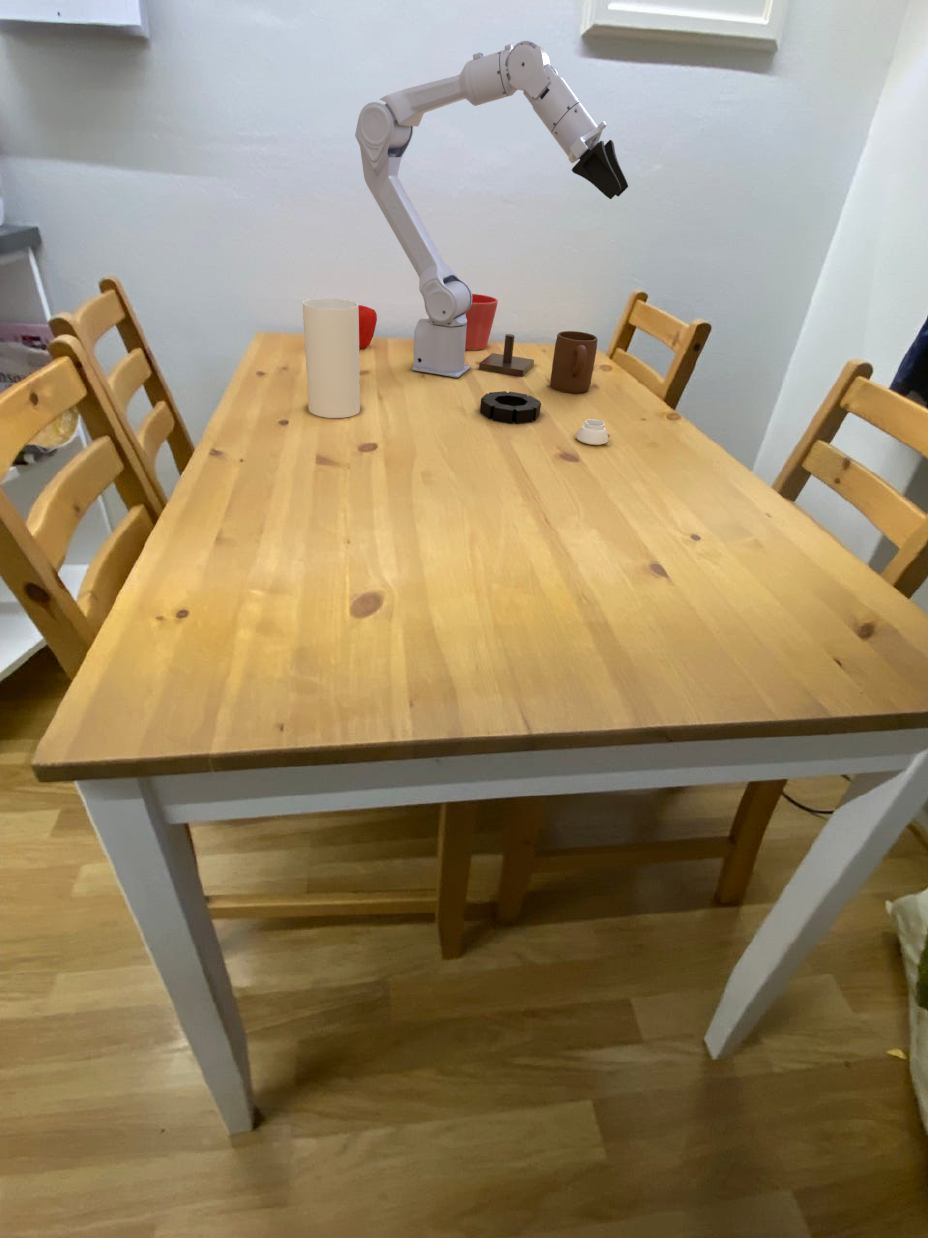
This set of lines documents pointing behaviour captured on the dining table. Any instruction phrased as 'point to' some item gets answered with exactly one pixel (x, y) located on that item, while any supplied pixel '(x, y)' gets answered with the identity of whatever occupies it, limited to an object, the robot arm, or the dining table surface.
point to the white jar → (593, 432)
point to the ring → (510, 407)
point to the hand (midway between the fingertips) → (619, 192)
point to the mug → (573, 361)
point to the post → (507, 361)
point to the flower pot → (479, 321)
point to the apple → (366, 325)
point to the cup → (332, 356)
